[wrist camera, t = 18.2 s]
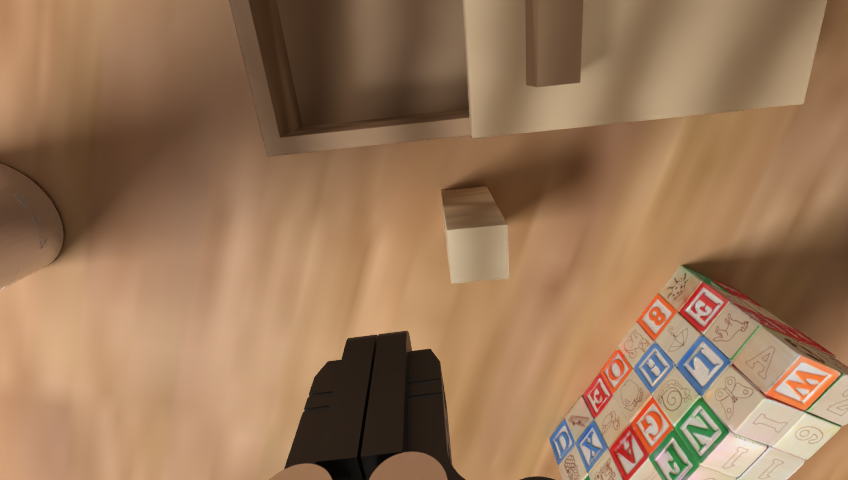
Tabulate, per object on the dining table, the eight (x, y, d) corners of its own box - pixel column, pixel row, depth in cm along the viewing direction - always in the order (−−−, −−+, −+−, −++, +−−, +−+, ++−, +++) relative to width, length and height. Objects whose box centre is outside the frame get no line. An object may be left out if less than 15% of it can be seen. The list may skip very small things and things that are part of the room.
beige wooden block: (444, 232, 33) (451, 283, 25) (440, 190, 32) (446, 230, 24) (488, 228, 33) (509, 278, 25) (486, 186, 32) (507, 224, 24)
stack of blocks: (599, 456, 43) (664, 596, 32) (547, 437, 42) (593, 575, 31) (739, 289, 36) (889, 393, 24) (679, 261, 35) (806, 356, 23)
